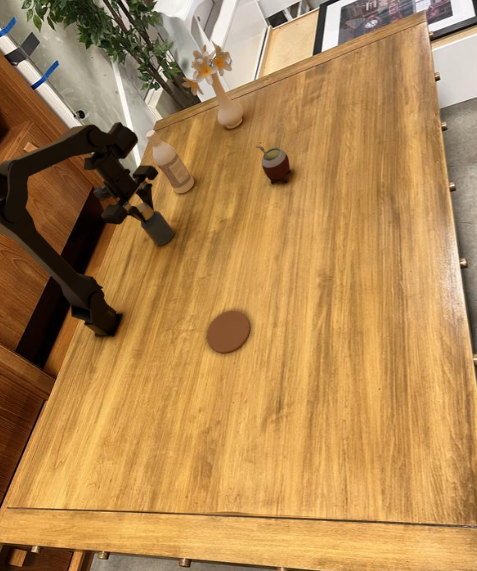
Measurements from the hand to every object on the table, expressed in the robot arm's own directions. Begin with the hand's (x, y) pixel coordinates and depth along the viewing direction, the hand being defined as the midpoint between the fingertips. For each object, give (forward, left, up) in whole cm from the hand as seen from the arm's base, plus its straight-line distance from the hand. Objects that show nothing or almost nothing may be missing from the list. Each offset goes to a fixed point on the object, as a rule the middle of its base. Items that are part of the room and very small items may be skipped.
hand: (148, 216), depth 106 cm
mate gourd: (+16, -33, -9) cm, 38 cm away
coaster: (-31, -28, -9) cm, 43 cm away
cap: (0, 0, +1) cm, 1 cm away
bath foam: (+21, 0, -9) cm, 23 cm away
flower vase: (+49, -11, -9) cm, 51 cm away
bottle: (0, 0, -8) cm, 8 cm away
